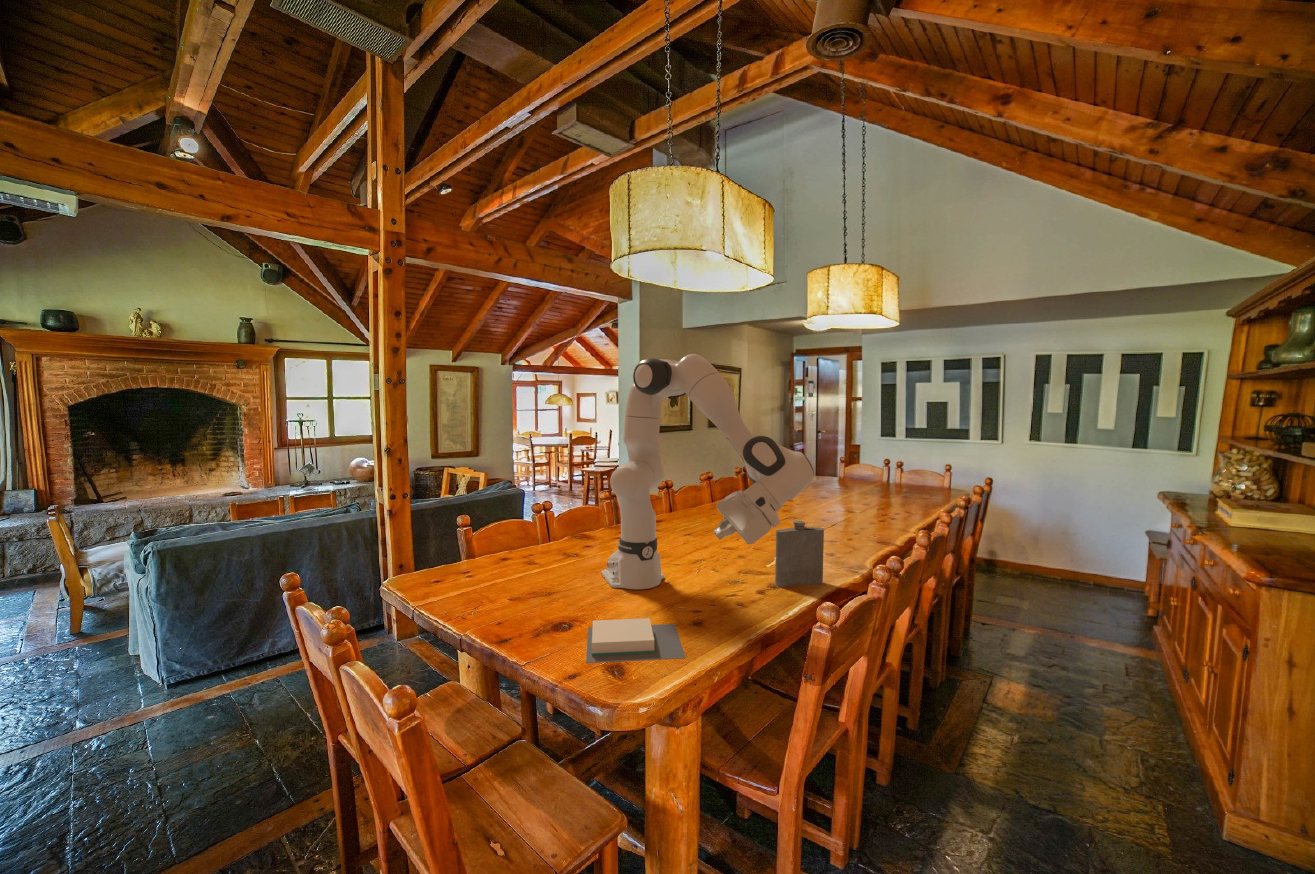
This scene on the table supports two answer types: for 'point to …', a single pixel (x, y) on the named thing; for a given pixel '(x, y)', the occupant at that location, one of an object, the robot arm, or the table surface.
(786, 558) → the hip flask
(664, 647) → the mat
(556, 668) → the table surface
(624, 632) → the tile
